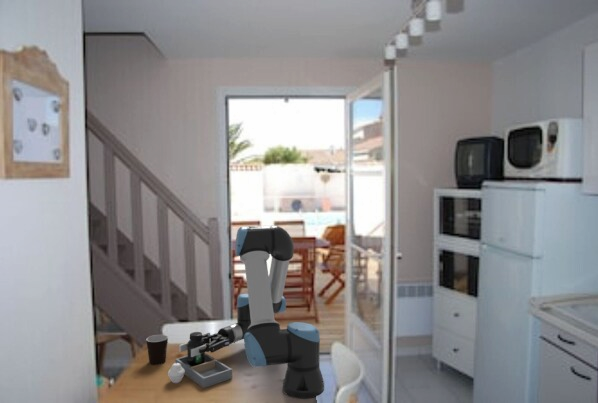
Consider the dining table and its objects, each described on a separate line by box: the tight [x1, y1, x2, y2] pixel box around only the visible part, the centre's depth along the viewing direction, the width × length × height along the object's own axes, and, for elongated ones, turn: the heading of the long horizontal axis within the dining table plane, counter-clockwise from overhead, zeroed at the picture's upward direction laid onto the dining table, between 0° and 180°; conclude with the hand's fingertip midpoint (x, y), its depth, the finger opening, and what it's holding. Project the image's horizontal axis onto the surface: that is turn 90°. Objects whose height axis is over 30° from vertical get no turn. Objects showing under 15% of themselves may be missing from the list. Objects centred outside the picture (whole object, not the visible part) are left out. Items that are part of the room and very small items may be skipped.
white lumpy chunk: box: [167, 362, 185, 384], centre depth 159 cm, size 6×6×7 cm
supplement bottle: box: [186, 331, 206, 366], centre depth 171 cm, size 7×7×12 cm
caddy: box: [174, 352, 233, 389], centre depth 167 cm, size 23×12×4 cm, turn 41°
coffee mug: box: [145, 334, 169, 366], centre depth 179 cm, size 12×9×10 cm
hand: (185, 351), depth 167 cm, fingers closed on supplement bottle, 7 cm apart
